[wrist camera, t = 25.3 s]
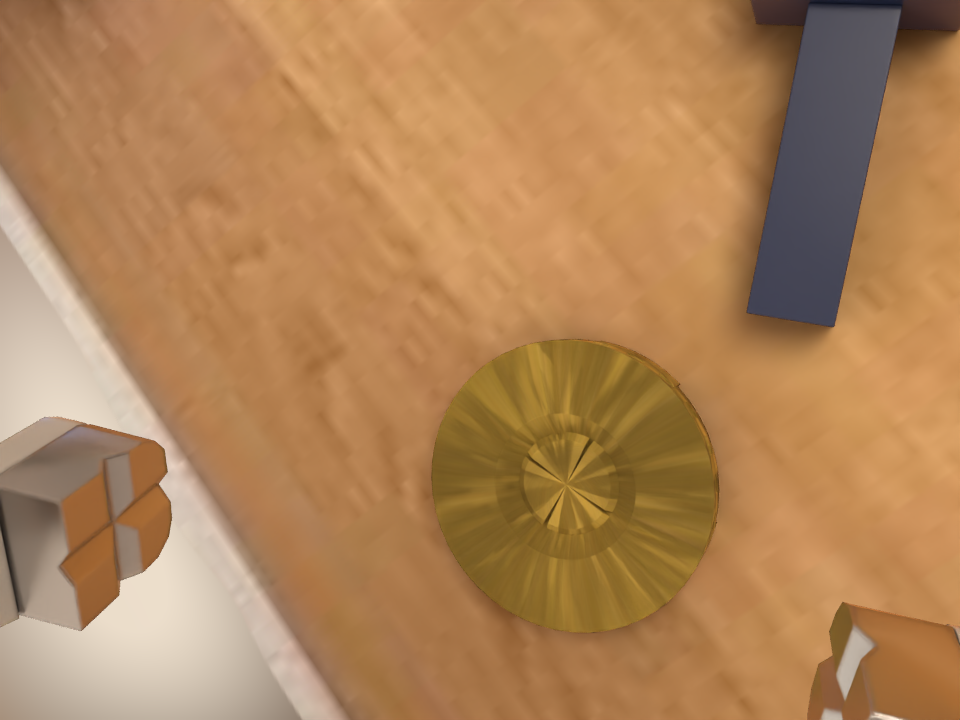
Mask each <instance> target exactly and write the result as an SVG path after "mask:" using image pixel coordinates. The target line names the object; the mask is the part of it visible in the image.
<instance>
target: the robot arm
mask: <svg viewBox="0 0 960 720" xmlns="http://www.w3.org/2000/svg"><path fill="white" fill-rule="evenodd" d="M167 472H168V471H167V464H166V457H165V450H164V448H162V447H161V446H160V445H159V444H158V443H157V442H155V441H153V440H149V439H146V438H142V437H138V436H134V435H130V434H126V433H122V432H118V431H115V430H111V429H107V428H103V427H99V426H95V425H91V424H89V425H88V424H86V423H83V422H79V421H74V420H69V419H66V418H62V417H44V418H42V419H40V420H39V421H37V422H35V423H33V424H32V425H30V426H28V427H27V428H25V429H23V430H21V431H20V432H18V433H16V434H14V435H13V436H11V437H9V438H8V439H6V440H4V441H2V442H1V443H0V627H2V626H4V625H6V624H8V623H10V622H12V621H15V620H17V619H18V618H19V615H21V616H25V617H29V618H33V619H37V620H40V621H44V622H48V623H52V624H55V625H59V626H63V627H67V628H71V629H74V630H78V631H82V630H83V629H84V628H85V627H86V626H87V625H88V624H89V623H90V622H91V621H92V620H94V619H95V618H96V617H97V616H98V615H99V614H100V613H101V612H102V611H103V610H104V609H105V608H106V607H107V606H108V605H109V604H110V603H111V602H113V601H114V600H115V599H116V598H117V597H118V596H119V592H120V591H119V590H120V581H121V580H124V579H126V578H129V577H132V576H134V575H137V574H140V573H143V572H144V571H145V570H146V569H147V568H148V567H149V566H150V565H151V564H152V563H153V562H154V561H155V560H156V559H157V558H158V557H159V555H160V553H161V551H162V549H163V547H164V545H165V543H166V541H167V539H168V537H169V533H170V526H171V521H172V513H171V502H170V500H169V499H168V497H167V496H166V494H165V493H164V491H163V490H162V488H161V487H160V485H159V483H160V482H161V480H162V479H163V478H164V476H165V475H166V474H167ZM829 633H830V640H831V646H832V653H833V656H831V657H830V658H828V659H826V660H825V661H823V662H821V663H820V664H819V665H818V668H817V671H816V675H815V678H814V682H813V685H812V688H811V695H810V701H809V708H808V714H807V720H960V627H959V626H954V625H949V624H947V625H942V624H938V623H933V622H929V621H924V620H920V619H916V618H911V617H907V616H902V615H898V614H893V613H889V612H884V611H880V610H875V609H871V608H867V607H862V606H858V605H853V604H849V603H844V602H842V604H841V605H840V607H839V609H838V610H837V612H836V614H835V617H834V620H833V623H832V626H831V628H830V631H829Z"/></svg>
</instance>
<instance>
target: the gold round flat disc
mask: <svg viewBox="0 0 960 720" xmlns="http://www.w3.org/2000/svg"><path fill="white" fill-rule="evenodd" d="M679 385H680V384H679V383H678V382H677V381H676V380H675V379H674V378H673V377H672V376H671V375H670V374H669V373H668V372H667V371H665V370H664V369H662V368H661V367H660V366H658V365H657V364H656V363H654V362H653V361H651V360H650V359H648V358H646V357H644V356H642V355H640V354H639V353H637V352H635V351H632V350H630V349H627V348H624V347H622V346H619V345H616V344H612V343H608V342H604V341H589V340H581V339H565V340H551V341H544V342H537V343H532V344H529V345H525V346H521V347H518V348H516V349H513V350H511V351H509V352H506V353H504V354H502V355H500V356H499V357H497V358H495V359H494V360H492V361H490V362H489V363H487V364H486V365H485V366H484V367H482V368H481V369H480V370H478V371H477V372H476V373H475V374H474V375H473V376H472V377H471V378H470V379H469V380H468V381H467V382H466V383H465V384H464V385H463V387H462V388H461V389H460V391H459V392H458V393H457V395H456V396H455V397H454V399H453V401H452V402H451V404H450V406H449V408H448V409H447V411H446V413H445V415H444V418H443V420H442V423H441V425H440V428H439V431H438V434H437V438H436V442H435V446H434V452H433V459H432V491H433V499H434V504H435V510H436V514H437V517H438V520H439V524H440V527H441V530H442V532H443V534H444V537H445V539H446V541H447V544H448V546H449V548H450V549H451V551H452V553H453V555H454V557H455V558H456V560H457V562H458V563H459V564H460V566H461V567H462V568H463V570H464V571H465V573H466V574H467V575H468V576H469V578H470V579H471V580H472V581H473V582H474V583H475V584H476V585H477V586H478V588H479V589H481V590H482V591H483V592H484V593H485V594H486V595H487V596H488V597H490V598H491V599H492V600H493V601H495V602H496V603H497V604H499V605H500V606H502V607H503V608H504V609H506V610H507V611H509V612H511V613H513V614H515V615H516V616H518V617H520V618H522V619H524V620H527V621H529V622H532V623H534V624H537V625H539V626H543V627H547V628H550V629H554V630H560V631H567V632H581V633H592V632H600V631H609V630H612V629H616V628H620V627H624V626H627V625H629V624H632V623H634V622H637V621H639V620H641V619H643V618H645V617H647V616H648V615H650V614H652V613H654V612H655V611H657V610H658V609H660V608H661V607H662V606H663V605H665V604H666V603H667V602H668V601H670V600H671V599H672V598H673V597H674V596H675V595H676V594H677V593H678V592H679V590H680V589H681V588H682V587H683V586H684V585H685V584H686V582H687V581H688V579H689V578H690V576H691V575H692V574H693V572H694V571H695V569H696V567H697V565H698V564H699V562H700V560H701V558H702V556H703V554H704V552H705V550H706V548H707V546H708V544H709V542H710V540H711V538H712V535H713V532H714V529H715V527H716V524H717V522H715V521H716V516H717V511H718V501H719V479H718V469H717V464H716V459H715V454H714V450H713V447H712V444H711V441H710V438H709V435H708V433H707V431H706V429H705V426H704V424H703V422H702V420H701V418H700V416H699V415H698V413H697V412H696V410H695V408H694V407H693V405H692V404H691V402H690V401H689V399H688V398H687V397H686V396H685V395H684V393H683V392H682V391H681V390H680V389H679V387H678V386H679Z"/></svg>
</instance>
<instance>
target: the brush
mask: <svg viewBox="0 0 960 720" xmlns="http://www.w3.org/2000/svg"><path fill="white" fill-rule="evenodd" d="M751 4H752V8H753V12H754V16H755V20H756V23H757V24H769V25H799V26H804V28H803V33H802V38H801V43H800V48H799V53H798V58H797V63H796V68H795V73H794V78H793V83H792V88H791V93H790V98H789V103H788V108H787V113H786V118H785V123H784V128H783V133H782V138H781V143H780V148H779V153H778V158H777V163H776V168H775V173H774V178H773V183H772V188H771V193H770V198H769V203H768V208H767V213H766V218H765V223H764V228H763V233H762V238H761V242H760V247H759V252H758V257H757V262H756V267H755V272H754V277H753V282H752V287H751V292H750V297H749V302H748V307H747V313H750V314H756V315H762V316H768V317H774V318H780V319H786V320H792V321H798V322H804V323H810V324H816V325H822V326H828V327H834V326H835V321H836V317H837V312H838V307H839V303H840V298H841V293H842V289H843V284H844V279H845V275H846V270H847V265H848V261H849V256H850V251H851V246H852V242H853V237H854V232H855V228H856V223H857V218H858V214H859V209H860V204H861V200H862V195H863V190H864V186H865V181H866V176H867V172H868V167H869V162H870V158H871V153H872V148H873V144H874V139H875V134H876V129H877V125H878V120H879V115H880V111H881V106H882V101H883V97H884V92H885V87H886V83H887V78H888V73H889V69H890V64H891V59H892V55H893V50H894V45H895V41H896V36H897V31H898V29H916V30H946V31H958V30H959V29H960V0H751Z"/></svg>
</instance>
